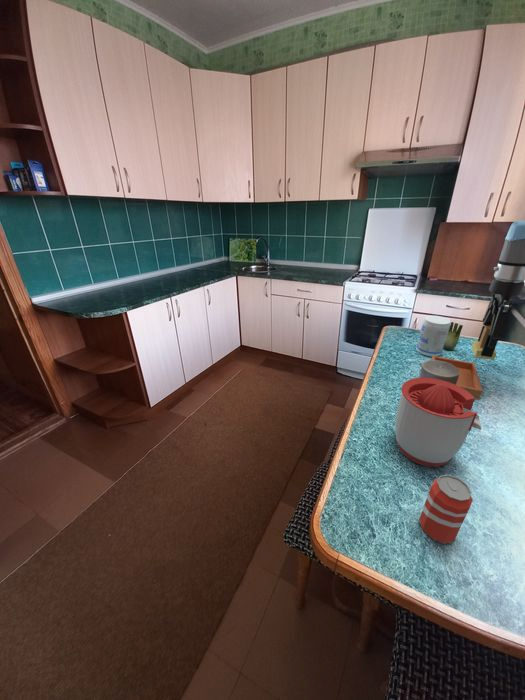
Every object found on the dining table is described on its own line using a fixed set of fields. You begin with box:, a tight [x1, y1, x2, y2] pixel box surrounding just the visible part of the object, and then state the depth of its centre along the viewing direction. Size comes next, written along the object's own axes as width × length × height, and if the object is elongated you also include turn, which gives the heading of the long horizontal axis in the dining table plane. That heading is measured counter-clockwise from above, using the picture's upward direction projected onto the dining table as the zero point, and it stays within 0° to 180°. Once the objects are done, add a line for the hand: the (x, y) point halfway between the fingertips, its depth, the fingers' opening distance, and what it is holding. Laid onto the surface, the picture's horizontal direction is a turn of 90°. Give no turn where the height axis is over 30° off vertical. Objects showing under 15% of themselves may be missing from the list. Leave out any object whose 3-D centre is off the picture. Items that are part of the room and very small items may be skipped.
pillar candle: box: [418, 359, 460, 385], centre depth 87 cm, size 10×10×15 cm
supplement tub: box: [415, 315, 452, 357], centre depth 118 cm, size 10×10×15 cm
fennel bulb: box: [443, 321, 464, 351], centre depth 122 cm, size 6×5×12 cm
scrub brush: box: [471, 326, 497, 361], centre depth 92 cm, size 5×8×9 cm, turn 153°
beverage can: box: [418, 474, 473, 544], centre depth 54 cm, size 6×6×12 cm
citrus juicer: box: [394, 377, 483, 468], centre depth 69 cm, size 16×17×20 cm
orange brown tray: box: [431, 356, 483, 400], centre depth 102 cm, size 14×20×3 cm
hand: (483, 350), depth 93 cm, fingers closed on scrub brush, 8 cm apart
